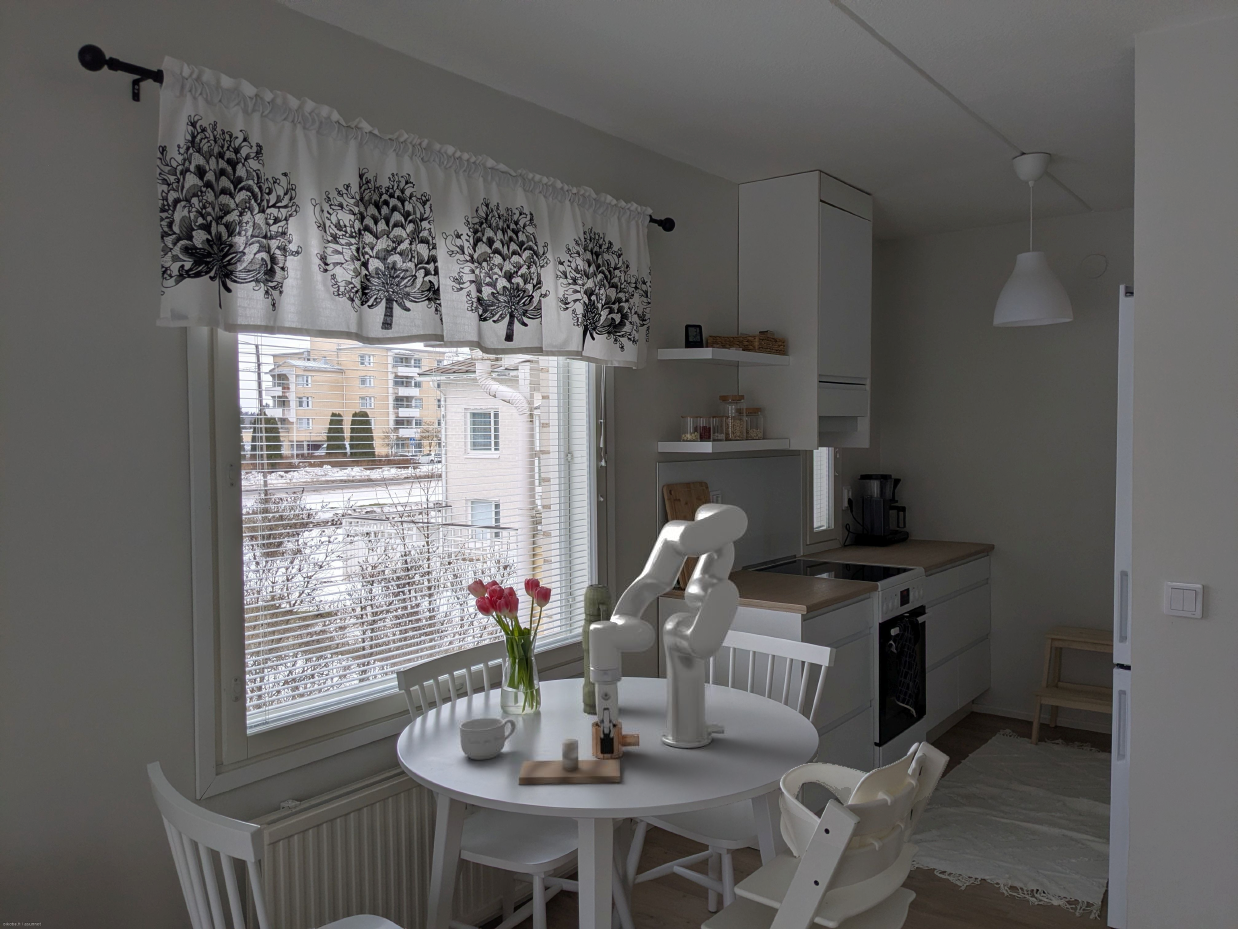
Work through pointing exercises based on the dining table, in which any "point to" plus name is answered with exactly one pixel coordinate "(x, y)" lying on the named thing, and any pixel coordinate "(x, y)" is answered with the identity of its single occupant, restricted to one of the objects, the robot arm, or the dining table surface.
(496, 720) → the teacup
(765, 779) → the dining table surface
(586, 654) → the olive green tall cylinder
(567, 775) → the duct board
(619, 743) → the wooden stave mug
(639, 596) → the robot arm
